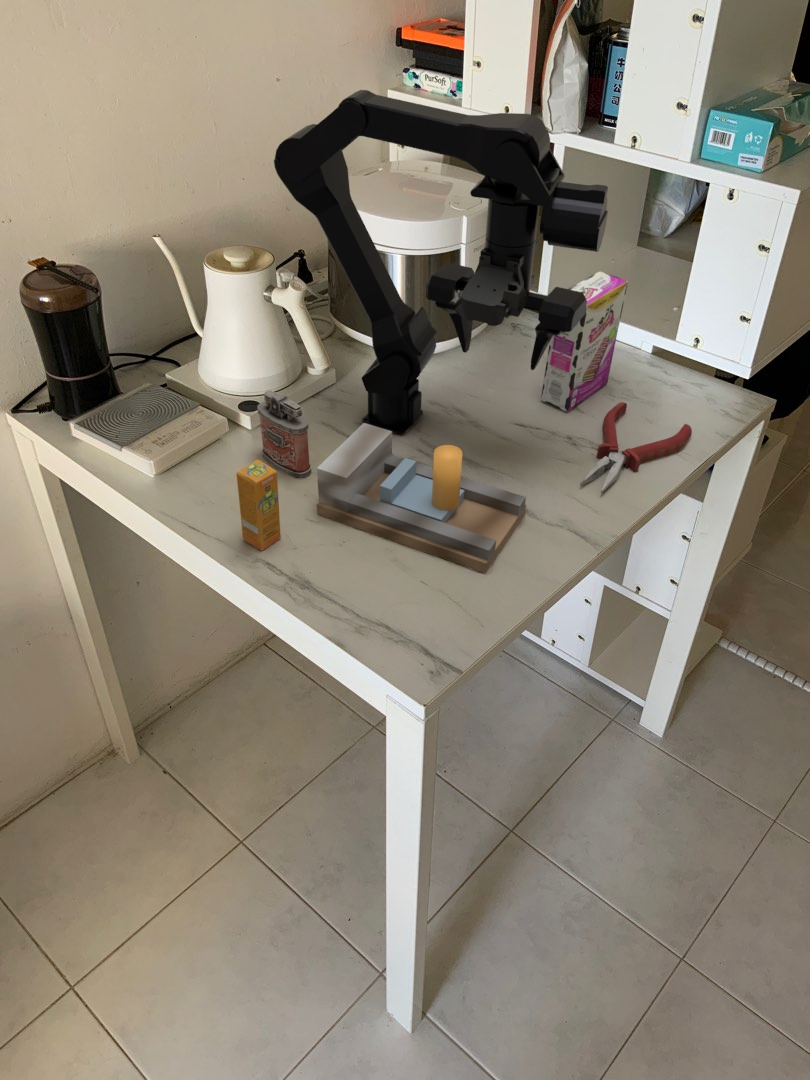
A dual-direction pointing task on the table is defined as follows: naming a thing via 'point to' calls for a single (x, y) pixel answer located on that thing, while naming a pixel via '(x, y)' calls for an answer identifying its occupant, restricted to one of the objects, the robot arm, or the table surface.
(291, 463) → the lighter
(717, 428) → the table surface
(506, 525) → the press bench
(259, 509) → the supplement box
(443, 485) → the press jaw
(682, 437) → the pliers
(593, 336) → the candy bar box
